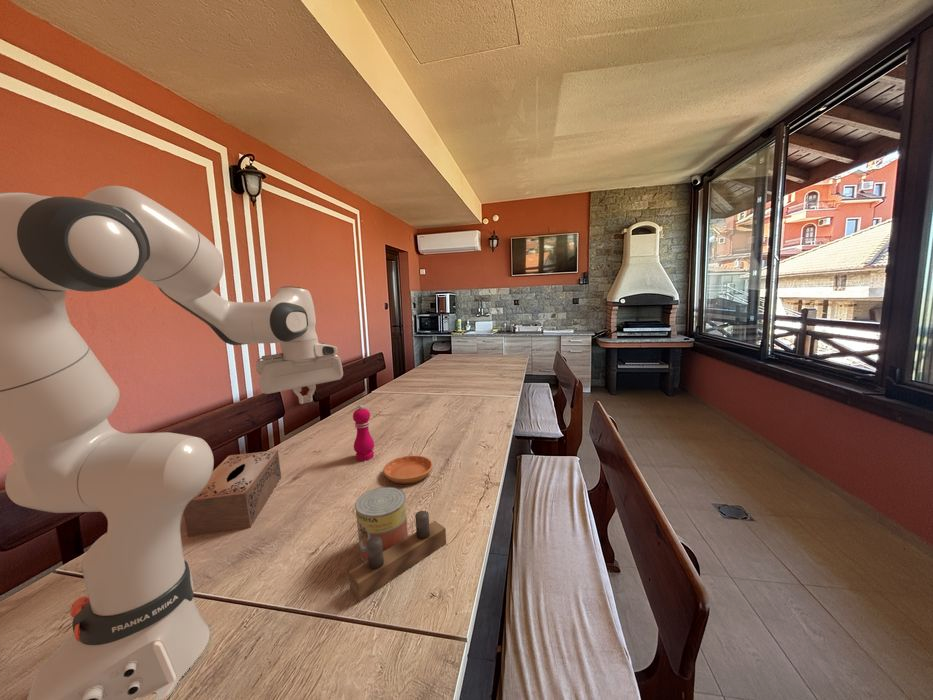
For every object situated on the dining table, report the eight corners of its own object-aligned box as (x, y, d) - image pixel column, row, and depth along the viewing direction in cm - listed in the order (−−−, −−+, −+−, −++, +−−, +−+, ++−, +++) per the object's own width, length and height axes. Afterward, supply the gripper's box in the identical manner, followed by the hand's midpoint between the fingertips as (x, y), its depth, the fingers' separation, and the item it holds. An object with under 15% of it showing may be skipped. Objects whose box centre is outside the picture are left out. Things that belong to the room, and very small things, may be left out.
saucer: (381, 468, 121) (380, 460, 120) (426, 459, 126) (425, 451, 126) (387, 492, 106) (387, 483, 105) (438, 480, 111) (438, 472, 111)
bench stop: (360, 601, 68) (356, 560, 66) (350, 589, 71) (346, 549, 69) (446, 543, 83) (444, 508, 81) (435, 535, 86) (433, 501, 84)
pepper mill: (369, 462, 125) (365, 408, 121) (350, 461, 126) (346, 407, 123) (378, 453, 132) (374, 402, 128) (360, 452, 133) (356, 401, 130)
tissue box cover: (250, 528, 91) (245, 493, 89) (187, 538, 88) (181, 501, 87) (281, 478, 116) (277, 450, 114) (233, 484, 113) (228, 455, 112)
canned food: (351, 547, 83) (346, 500, 81) (393, 525, 90) (389, 481, 88) (373, 574, 74) (369, 522, 72) (418, 547, 82) (415, 500, 80)
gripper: (258, 358, 81) (265, 415, 83) (343, 346, 95) (347, 396, 97) (251, 355, 85) (258, 409, 88) (333, 345, 99) (337, 392, 102)
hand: (306, 402), depth 93 cm, fingers closed
